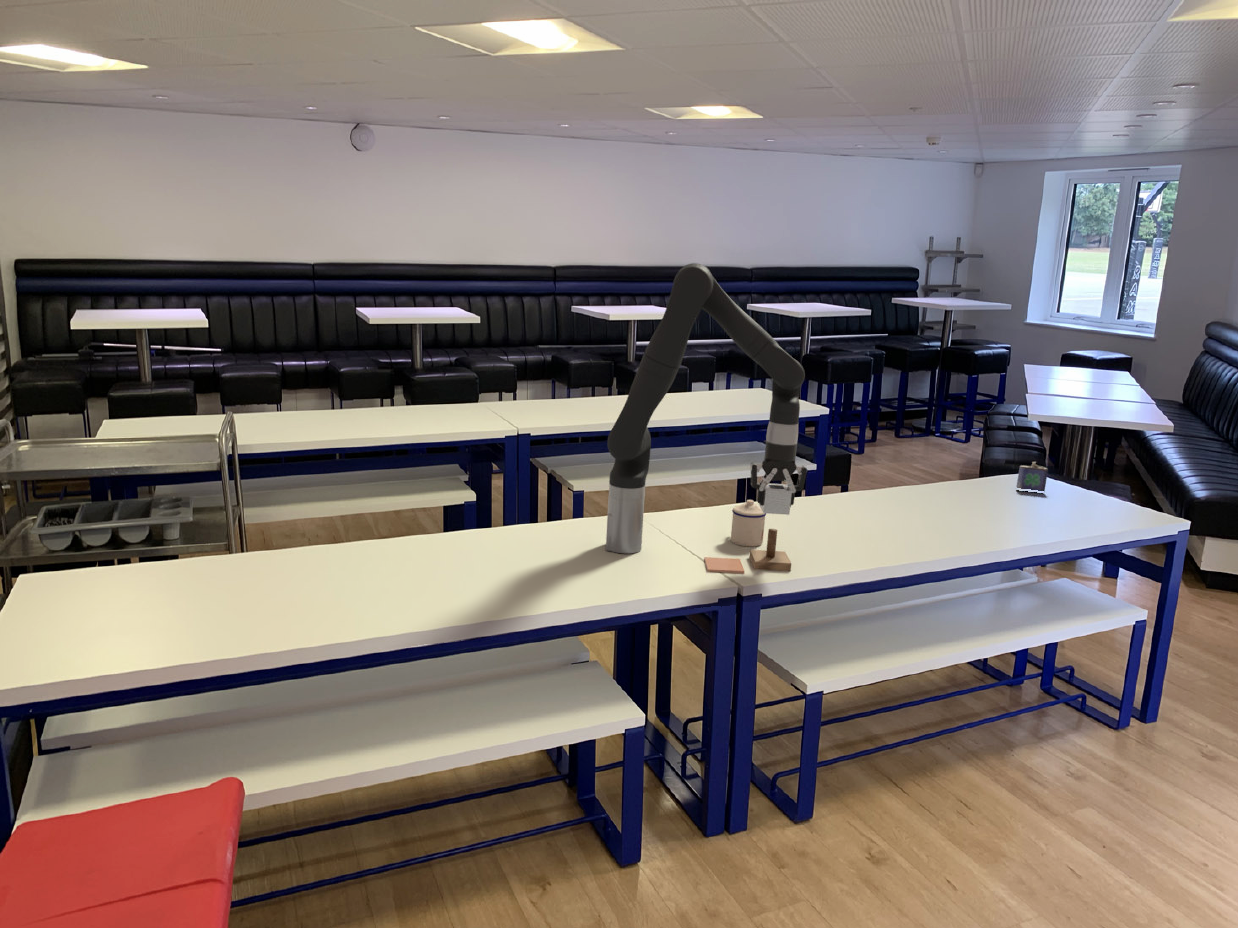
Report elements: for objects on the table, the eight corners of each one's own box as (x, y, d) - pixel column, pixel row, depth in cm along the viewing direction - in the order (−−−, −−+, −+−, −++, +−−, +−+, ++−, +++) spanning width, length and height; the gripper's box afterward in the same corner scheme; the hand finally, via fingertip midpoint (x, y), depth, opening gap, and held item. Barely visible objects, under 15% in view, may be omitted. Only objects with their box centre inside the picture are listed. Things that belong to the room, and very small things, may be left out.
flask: (1016, 491, 322) (1021, 461, 320) (1015, 489, 325) (1019, 459, 323) (1044, 494, 320) (1049, 464, 318) (1043, 492, 323) (1048, 462, 320)
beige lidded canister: (769, 546, 248) (773, 504, 245) (737, 548, 245) (741, 505, 243) (750, 532, 259) (754, 492, 256) (720, 534, 257) (723, 493, 254)
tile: (707, 571, 226) (707, 569, 226) (704, 559, 235) (704, 557, 235) (744, 573, 226) (744, 571, 226) (739, 561, 235) (739, 558, 235)
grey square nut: (763, 513, 228) (765, 489, 227) (759, 505, 234) (761, 482, 233) (789, 514, 228) (791, 491, 227) (784, 507, 234) (787, 484, 233)
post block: (754, 569, 230) (757, 534, 228) (749, 557, 239) (752, 523, 237) (790, 570, 230) (794, 536, 228) (784, 558, 239) (787, 525, 237)
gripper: (754, 441, 223) (748, 508, 227) (814, 445, 223) (806, 511, 227) (750, 435, 230) (744, 499, 234) (807, 438, 231) (800, 503, 235)
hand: (774, 505), depth 231 cm, fingers closed on grey square nut, 6 cm apart
